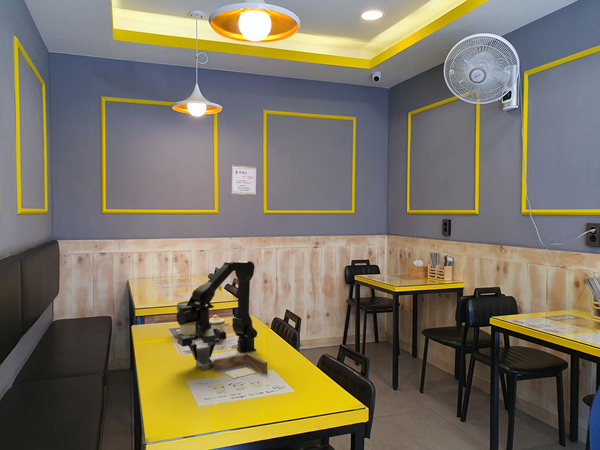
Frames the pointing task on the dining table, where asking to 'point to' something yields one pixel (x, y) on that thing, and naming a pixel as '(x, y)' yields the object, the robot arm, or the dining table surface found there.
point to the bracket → (204, 358)
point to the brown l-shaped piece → (241, 362)
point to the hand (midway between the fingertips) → (202, 358)
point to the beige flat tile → (240, 372)
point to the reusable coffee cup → (187, 328)
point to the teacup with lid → (217, 323)
